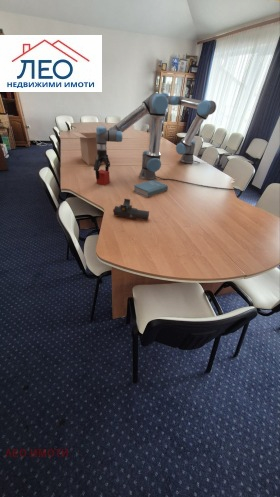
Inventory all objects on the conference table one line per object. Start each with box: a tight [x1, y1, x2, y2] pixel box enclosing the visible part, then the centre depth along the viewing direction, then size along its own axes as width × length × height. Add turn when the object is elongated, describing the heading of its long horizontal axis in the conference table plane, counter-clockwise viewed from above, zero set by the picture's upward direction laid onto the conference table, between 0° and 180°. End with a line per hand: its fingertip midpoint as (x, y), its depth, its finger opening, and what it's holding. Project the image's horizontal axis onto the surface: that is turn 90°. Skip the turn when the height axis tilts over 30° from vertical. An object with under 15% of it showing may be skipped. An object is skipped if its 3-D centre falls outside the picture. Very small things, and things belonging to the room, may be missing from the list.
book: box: [133, 179, 169, 198], centre depth 177 cm, size 23×16×5 cm
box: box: [70, 129, 105, 166], centre depth 229 cm, size 44×36×27 cm
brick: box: [95, 169, 111, 186], centre depth 185 cm, size 7×8×10 cm
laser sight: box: [112, 198, 150, 221], centre depth 138 cm, size 10×22×10 cm, turn 78°
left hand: (102, 176), depth 184 cm, fingers open, 13 cm apart
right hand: (160, 132), depth 249 cm, fingers open, 13 cm apart
